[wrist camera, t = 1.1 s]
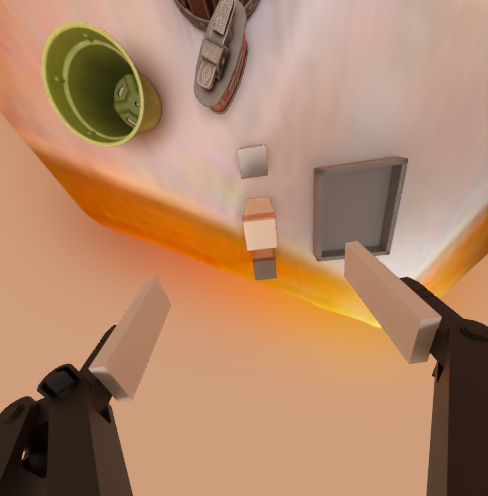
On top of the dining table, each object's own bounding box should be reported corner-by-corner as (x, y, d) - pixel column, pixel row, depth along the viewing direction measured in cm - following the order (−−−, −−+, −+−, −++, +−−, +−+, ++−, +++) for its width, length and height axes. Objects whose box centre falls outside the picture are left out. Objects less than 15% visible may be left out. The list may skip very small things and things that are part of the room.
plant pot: (92, 116, 28) (32, 108, 21) (114, 36, 24) (50, -10, 17) (157, 158, 30) (124, 165, 23) (186, 91, 27) (159, 72, 19)
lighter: (227, 119, 28) (214, 110, 19) (203, 106, 27) (178, 90, 18) (254, 45, 24) (255, -8, 16) (227, 28, 24) (212, -37, 15)
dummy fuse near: (263, 144, 29) (265, 145, 24) (265, 168, 30) (267, 175, 25) (240, 147, 29) (237, 149, 24) (243, 171, 31) (241, 178, 25)
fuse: (269, 195, 32) (275, 217, 23) (271, 219, 34) (278, 248, 25) (245, 199, 33) (242, 222, 24) (248, 222, 34) (246, 251, 26)
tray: (396, 156, 29) (408, 158, 27) (380, 246, 35) (389, 254, 33) (314, 168, 30) (319, 170, 28) (313, 253, 37) (317, 261, 34)
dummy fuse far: (271, 241, 36) (275, 260, 30) (273, 258, 37) (276, 278, 32) (253, 243, 36) (253, 262, 31) (255, 259, 38) (255, 280, 32)
